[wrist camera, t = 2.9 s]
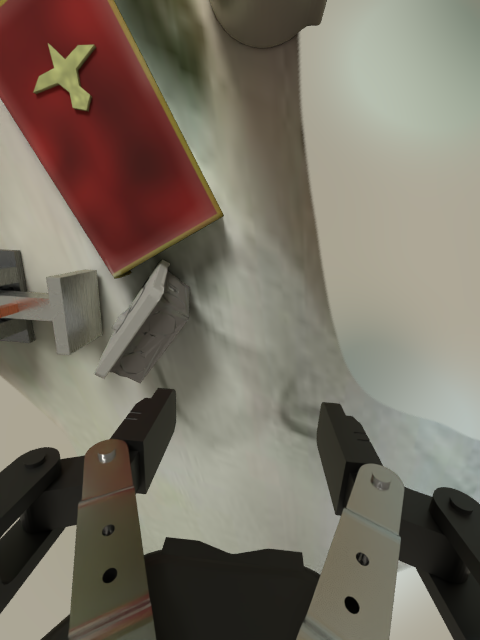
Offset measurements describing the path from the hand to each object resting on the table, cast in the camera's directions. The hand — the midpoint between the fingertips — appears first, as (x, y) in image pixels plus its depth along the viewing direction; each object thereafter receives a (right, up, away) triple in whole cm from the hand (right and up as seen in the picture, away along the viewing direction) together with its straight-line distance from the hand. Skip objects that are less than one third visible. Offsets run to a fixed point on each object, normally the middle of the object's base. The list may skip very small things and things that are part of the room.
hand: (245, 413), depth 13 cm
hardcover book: (-12, +21, +14) cm, 28 cm away
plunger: (-22, +6, +18) cm, 29 cm away
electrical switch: (-8, +6, +18) cm, 21 cm away
